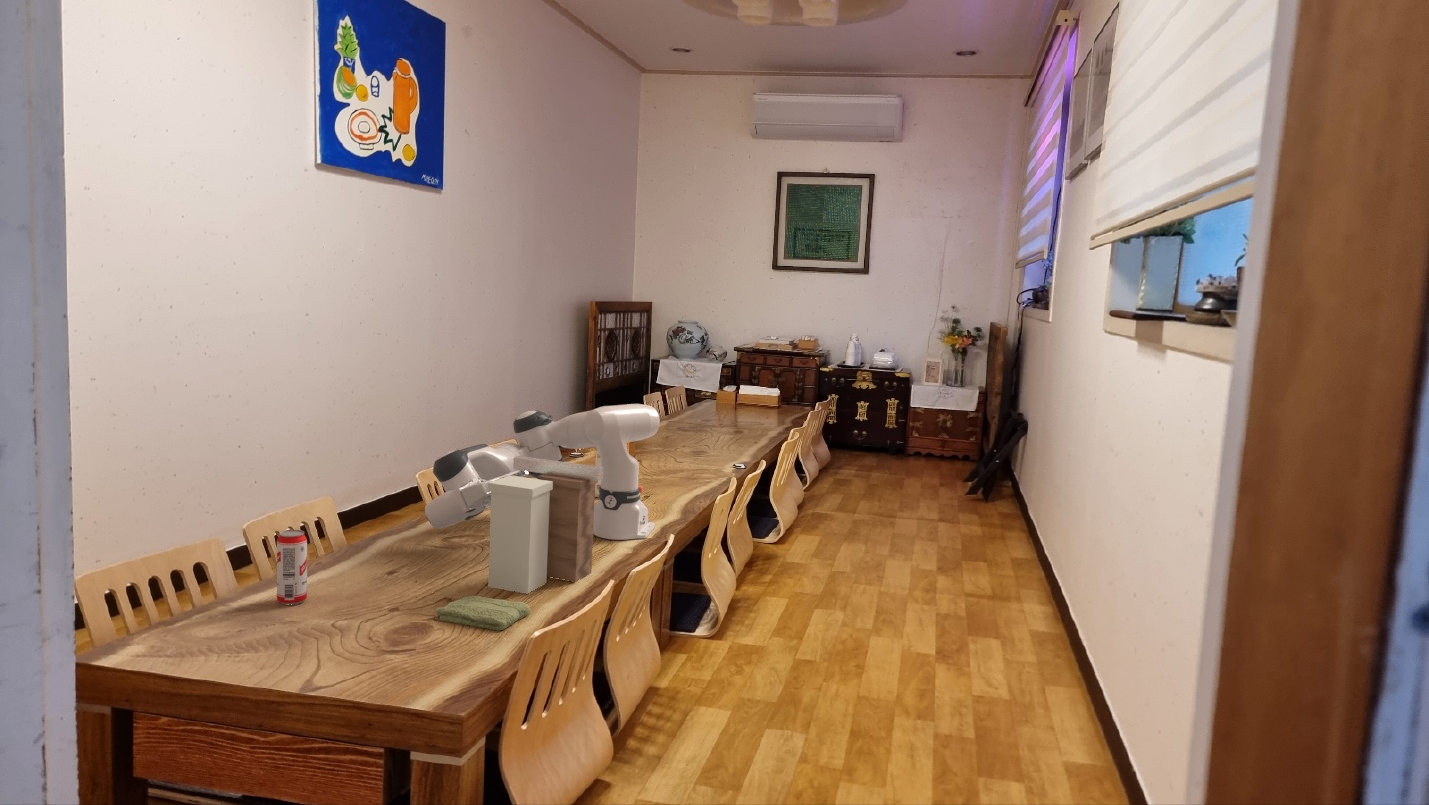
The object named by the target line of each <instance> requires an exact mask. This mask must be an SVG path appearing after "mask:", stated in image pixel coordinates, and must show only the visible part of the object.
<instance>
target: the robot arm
mask: <svg viewBox="0 0 1429 805" xmlns="http://www.w3.org/2000/svg"><path fill="white" fill-rule="evenodd" d="M660 423H661V420H660V416H659V413H658V411H657V409H655V408H654V407H653V406H652V405H648V404H641V403H631V404H630V403H629V404H628V403H627V404H617V405H603V406H599V407H597V408H594V409H592V410H587V411H582V412H577V413H574V414H570V415H567V416H565V417H563V418H561V419H559V420H557V421H553V416H552V415H549V414H546V413H545V412H543V411H541V410H528V411H525V412H522V413H520V415H518V416H517V418H515V419H514V420H513V423H512V426H513V432H514V433H515V434H516V438H517V443H516V442H505V443H502V444H500V445H497V446H496V447H491V446H489V445H488V444H486V443H481V444H480V443H479V444H476V445H471V446H468V447H466V448H462V449H456V450H450V451H447V452H445V453H444V454H441V455H440V456H439V457H438V458H437V459H436V460H435V461H434V463H433V468H432V474H433V475H434V477H435V478H436V479H437V481H438V482H440V484H441V485H442V488H443V489H444V491H445V492H443V493H442V494H439V495H438V496H436V497H435V498H434V499H432V500H431V501H430V502H429V501H428V502H429V503H427V504H426V505H425V507H424V513H425V517H426V519H427V520H428V522H429V523H430V525H431V526H432V527H434V529H436V530H437V529H439V530H440V529H445V528H448V527H451V526H454V525H457V524H458V523H459V524H460V523H461V522H463V521H469V520H471V519H472V518H475V517H477V516H478V515H480V514H481V513H483V512H484V511H485V510H487V509H491V491H488V483H490V482H492V481H495V480H498V479H501V478H504V477H507V476H510V475H511V476H518V477H526V478H527V476H531V478H533V479H537V476H539V475H542V474H543V473H536V472H529V471H522V470H515V469H513V464H514V458H515V457H518V456H524V457H531V458H539V459H546V460H553V461H561V462H565V461H564V457H563V456H562V453H561V449H560V447H562V448H564V449H572V450H573V449H574V450H575V449H576V450H578V449H588V448H594V447H595V449H596V448H597V450H598V453H599V456H600V460H601V467H603V479H601V486H600V487H599V497H598V501H596V502H594V523H593V536H596V537H598V538H602V539H607V540H614V541H615V540H616V541H617V540H618V541H620V540H621V541H624V540H627V541H628V540H634V539H647V537H649V535H650V534H651V533H652V532H653V530H654V528H656V523H655V522H653V521H649V509H648V507H647V506H646V505H645V504H644V503H643V502H642V500H641V494H642V493H643V491H644V487H643V486H642V485H641V486H639V471H640V465H639V461H638V460H637V459H636V457H634V456H632V455H631V454H630V453H629V450H628V445H627V444H628V443H629V442H630V443H631V442H637V441H643V440H646V439H648V438H651V437H653V436H655V435H656V434H657V432H658V431H659V429H660V425H661V424H660Z"/></svg>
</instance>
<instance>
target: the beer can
mask: <svg viewBox="0 0 1429 805" xmlns="http://www.w3.org/2000/svg"><path fill="white" fill-rule="evenodd" d="M307 597H308V539H307V536H306V535H305V531H304V530H300V529H287V530H282V531H281V532H279V535H278V537H277V539H276V601H277V602H278V603H280V604H281V603H282V604H281V605H283V604H289V605H288V606H295V605H294V604H297V605H300V604H302V603H303V602H304V601H306V599H307ZM299 603H300V604H299ZM291 604H292V605H291Z"/></svg>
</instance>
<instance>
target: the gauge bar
mask: <svg viewBox="0 0 1429 805" xmlns="http://www.w3.org/2000/svg"><path fill="white" fill-rule="evenodd" d="M513 469H515V470H522V471H529V472H536V473H543V474H551V475H558V476H565V477H572V478H579V479H586V480H593V481H599V480H601V479H603V467H598V466H595V465H590V464H584V463H583V464H581V463H575V462H567V461H564V462H561V461H553V460H546V459H539V458H531V457H524V456H518V457H515V458H514V464H513Z"/></svg>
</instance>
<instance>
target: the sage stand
mask: <svg viewBox="0 0 1429 805" xmlns="http://www.w3.org/2000/svg"><path fill="white" fill-rule="evenodd" d="M552 489H553V481H547V480H540V479H537V478H534V477H527V476H526V477H518V476H511V475H510V476H507V477H504V478H501V479H498V480H495V481H492V482H490V483H488V491H491V507H490V510H489V511H490V513H489V514H490V515H489V552H488V581H487V582H488V585H487V586H488V588H493V589H499V590H503V589H504V590H505V591H509V592H514V591H515V593H519V592H520V594H525V593H526V594H525V595H529V594H531V593H532V592H531V591H533V590H534V591H536V590H537V589H536V588H537V587H539V586H540V585H543V584H544V585H546V584H547V579H548V578H547V553H548V527H549V500H550V490H552ZM545 583H546V584H545ZM544 585H543V586H544ZM539 588H540V587H539ZM535 589H536V590H535ZM504 590H503V591H504ZM534 591H533V592H534ZM530 592H531V593H530ZM528 593H529V594H528Z"/></svg>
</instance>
